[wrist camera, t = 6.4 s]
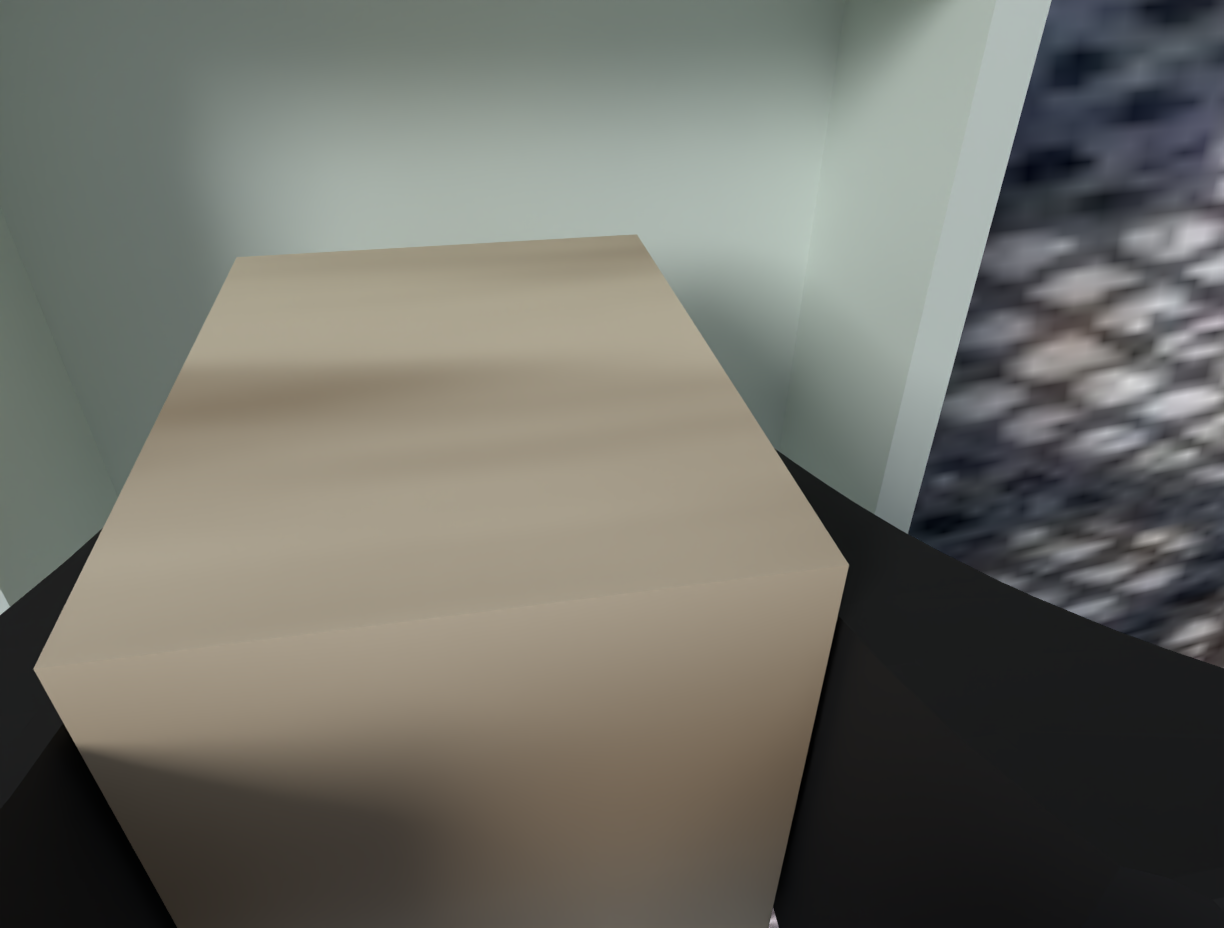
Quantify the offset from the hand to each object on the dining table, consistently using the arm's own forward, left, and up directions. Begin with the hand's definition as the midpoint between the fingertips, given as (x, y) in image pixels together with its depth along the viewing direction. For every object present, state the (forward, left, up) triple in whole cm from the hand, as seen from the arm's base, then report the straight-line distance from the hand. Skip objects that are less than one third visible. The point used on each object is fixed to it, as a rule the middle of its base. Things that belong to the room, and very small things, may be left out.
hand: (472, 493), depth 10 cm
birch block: (0, 0, -2) cm, 2 cm away
